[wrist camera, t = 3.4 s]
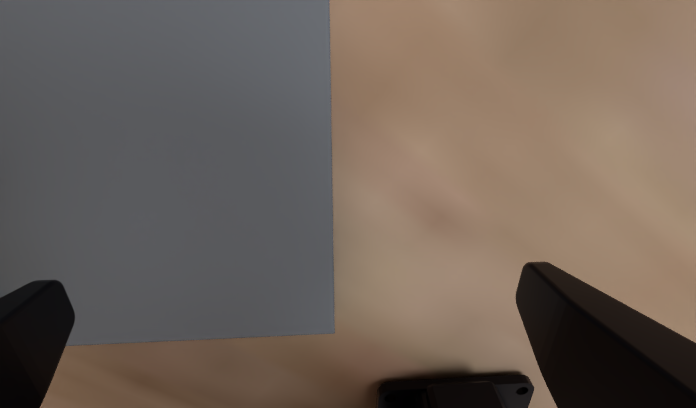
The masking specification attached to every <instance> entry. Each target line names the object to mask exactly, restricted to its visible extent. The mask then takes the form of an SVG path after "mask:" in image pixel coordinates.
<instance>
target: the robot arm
mask: <svg viewBox="0 0 696 408" xmlns="http://www.w3.org/2000/svg"><path fill="white" fill-rule="evenodd" d="M516 304H517V307H518V310H519V313H520V316H521V319H522V321H523V324H524V327H525V330H526V333H527V335H528V338H529V341H530V344H531V346H532V349H533V352H534V355H535V358H536V360H537V363H538V366H539V368H540V371H541V373H542V376H543V378H544V380H545V382H546V385H547V387H548V389H549V391H550V393H551V395H552V397H553V399H554V401H555V403H556V405H557V407H558V408H696V343H695V342H693V341H691V340H689V339H687V338H686V337H684V336H682V335H680V334H678V333H676V332H675V331H673V330H671V329H669V328H667V327H665V326H664V325H662V324H660V323H658V322H656V321H654V320H653V319H651V318H649V317H647V316H645V315H643V314H642V313H640V312H638V311H636V310H634V309H632V308H631V307H629V306H627V305H625V304H623V303H621V302H620V301H618V300H616V299H614V298H612V297H610V296H609V295H607V294H605V293H603V292H601V291H599V290H598V289H596V288H594V287H592V286H590V285H588V284H587V283H585V282H583V281H581V280H579V279H577V278H576V277H574V276H572V275H570V274H568V273H566V272H565V271H563V270H561V269H559V268H557V267H556V266H554V265H552V264H550V263H548V262H528V263H526V264H525V265H524V266H523V269H522V272H521V276H520V280H519V284H518V288H517V291H516ZM74 322H75V312H74V309H73V307H72V304H71V302H70V300H69V297H68V295H67V293H66V290H65V288H64V286H63V284H62V283H61V282H60V281H58V280H35V281H32V282H30V283H28V284H26V285H24V286H22V287H20V288H18V289H16V290H14V291H12V292H11V293H9V294H7V295H5V296H3V297H1V298H0V408H40V406H41V404H42V402H43V399H44V397H45V395H46V393H47V390H48V388H49V386H50V383H51V381H52V378H53V376H54V373H55V371H56V368H57V366H58V363H59V361H60V358H61V356H62V353H63V351H64V348H65V346H66V343H67V341H68V338H69V336H70V333H71V331H72V328H73V326H74ZM533 391H534V386H533V385H532V383H531V381H530V379H529V377H528V376H525V375H508V376H489V377H470V378H452V379H433V380H414V381H396V382H386V383H383V384H381V385H380V386H379V387H378V390H377V403H376V408H528V406H529V403H530V400H531V397H532V394H533Z"/></svg>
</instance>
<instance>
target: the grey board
mask: <svg viewBox="0 0 696 408" xmlns="http://www.w3.org/2000/svg"><path fill="white" fill-rule="evenodd" d="M35 280H58V281H60V282H61V283H62V284H63V286H64V288H65V290H66V293H67V295H68V297H69V300H70V302H71V304H72V307H73V309H74V312H75V322H74V326H73V328H72V331H71V333H70V336H69V338H68V341H67V343H66V346H74V345H96V344H117V343H139V342H160V341H182V340H203V339H225V338H247V337H268V336H290V335H311V334H333V333H335V328H334V265H333V202H332V140H331V77H330V15H329V0H0V298H1V297H3V296H5V295H7V294H9V293H11V292H12V291H14V290H16V289H18V288H20V287H22V286H24V285H26V284H28V283H30V282H32V281H35Z"/></svg>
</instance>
